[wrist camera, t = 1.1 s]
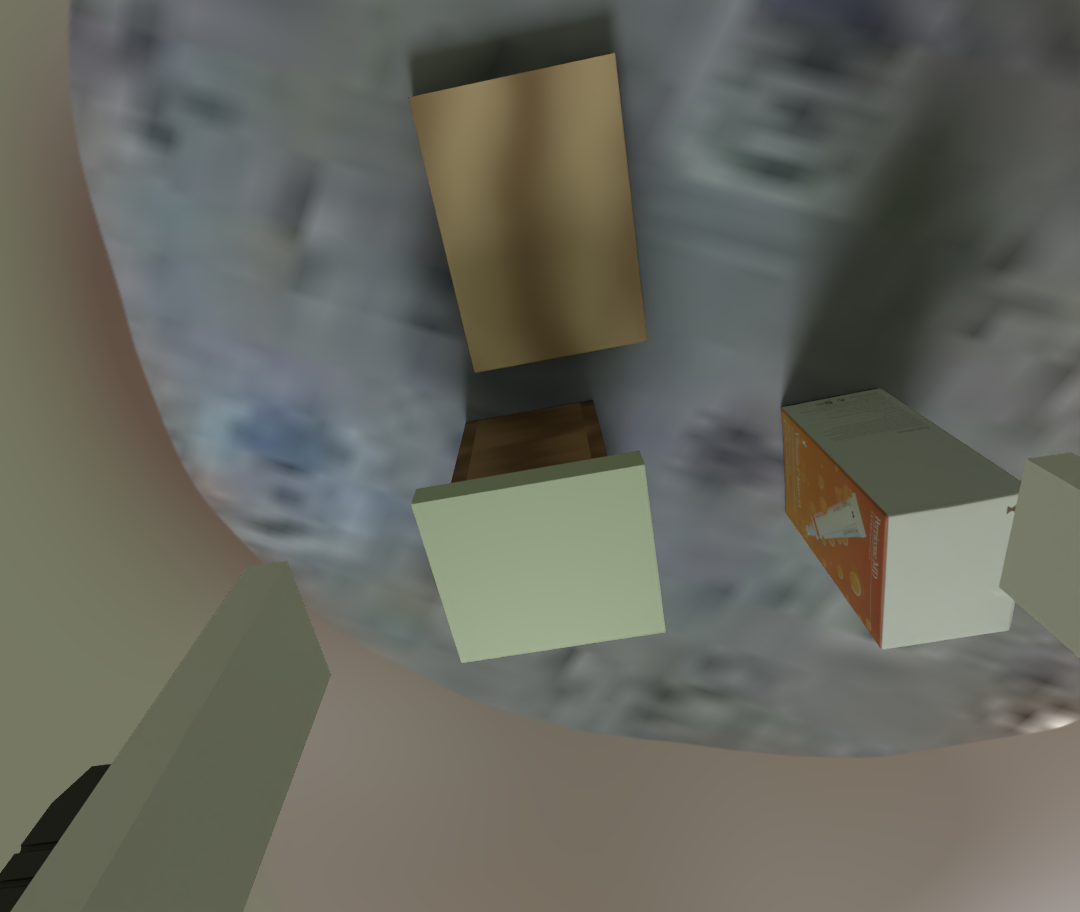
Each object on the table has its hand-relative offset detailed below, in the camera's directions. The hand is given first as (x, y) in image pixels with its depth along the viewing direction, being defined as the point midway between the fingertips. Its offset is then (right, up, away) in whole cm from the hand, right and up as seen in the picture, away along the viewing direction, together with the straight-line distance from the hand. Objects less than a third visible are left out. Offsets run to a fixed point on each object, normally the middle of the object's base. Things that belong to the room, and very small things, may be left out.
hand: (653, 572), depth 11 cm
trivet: (-2, +15, +22) cm, 27 cm away
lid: (-2, -3, +21) cm, 21 cm away
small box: (+17, +2, +29) cm, 33 cm away
